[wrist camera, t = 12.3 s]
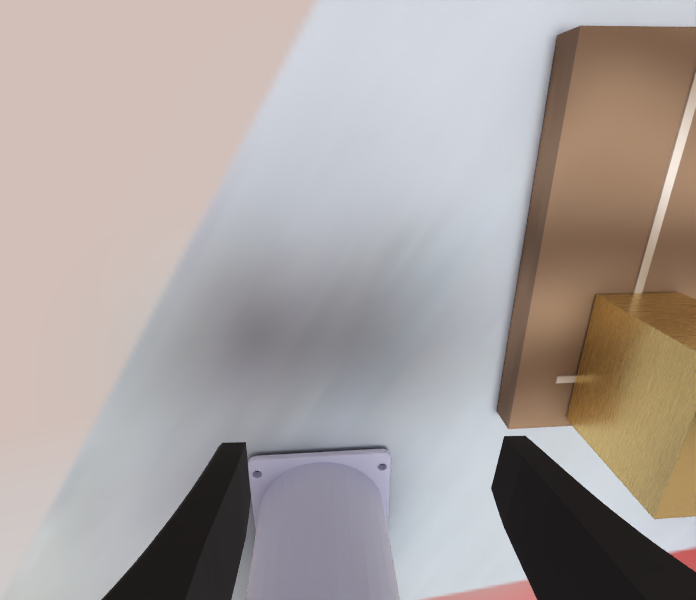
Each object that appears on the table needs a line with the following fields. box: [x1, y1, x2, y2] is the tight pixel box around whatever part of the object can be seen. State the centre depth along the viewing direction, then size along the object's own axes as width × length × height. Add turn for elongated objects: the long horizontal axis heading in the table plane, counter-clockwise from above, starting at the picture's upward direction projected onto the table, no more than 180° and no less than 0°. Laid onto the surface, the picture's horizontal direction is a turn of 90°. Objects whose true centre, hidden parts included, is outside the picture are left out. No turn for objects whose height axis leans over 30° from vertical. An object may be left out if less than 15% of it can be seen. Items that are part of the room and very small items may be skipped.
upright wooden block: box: [566, 292, 696, 519], centre depth 17 cm, size 7×4×6 cm, turn 0°
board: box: [497, 26, 696, 429], centre depth 19 cm, size 18×10×2 cm, turn 0°
